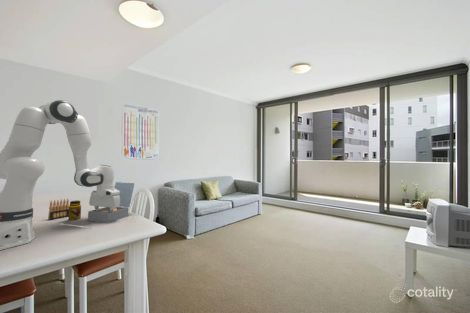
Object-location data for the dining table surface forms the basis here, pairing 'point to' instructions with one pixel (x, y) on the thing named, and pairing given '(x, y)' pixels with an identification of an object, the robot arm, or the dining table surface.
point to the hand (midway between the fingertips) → (104, 213)
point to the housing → (107, 214)
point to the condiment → (74, 210)
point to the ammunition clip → (58, 210)
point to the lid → (125, 193)
